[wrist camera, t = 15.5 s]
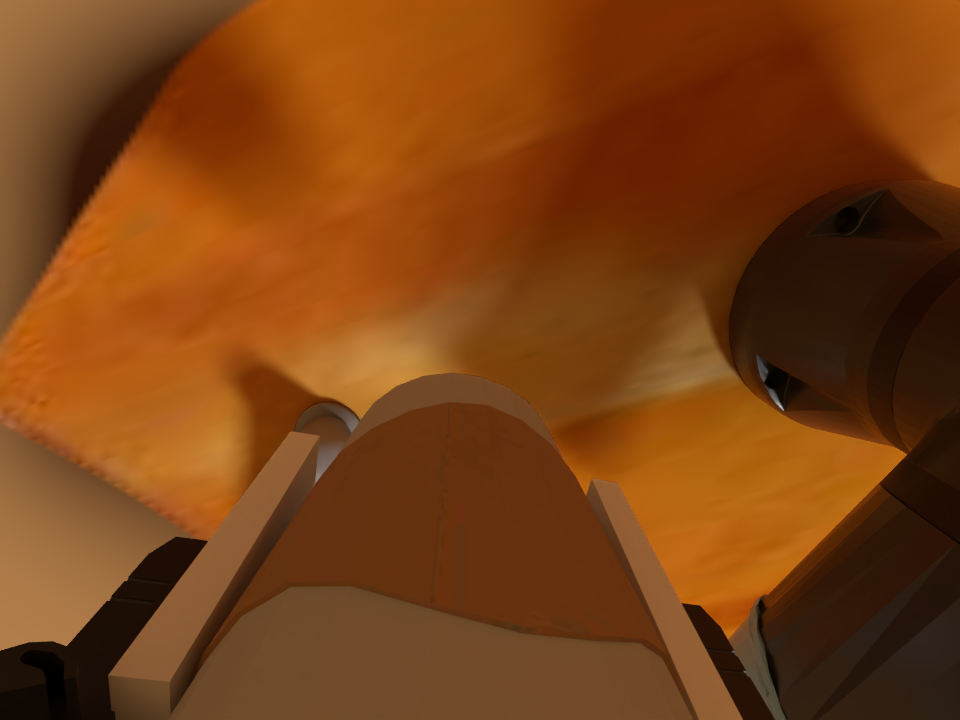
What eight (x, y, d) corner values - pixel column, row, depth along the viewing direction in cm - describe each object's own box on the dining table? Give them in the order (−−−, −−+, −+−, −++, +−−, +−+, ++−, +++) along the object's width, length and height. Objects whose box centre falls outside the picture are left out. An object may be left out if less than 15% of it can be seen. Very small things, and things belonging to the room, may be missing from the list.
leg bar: (304, 412, 29) (273, 453, 25) (354, 420, 30) (334, 462, 25) (293, 555, 33) (264, 615, 28) (338, 561, 33) (317, 621, 29)
